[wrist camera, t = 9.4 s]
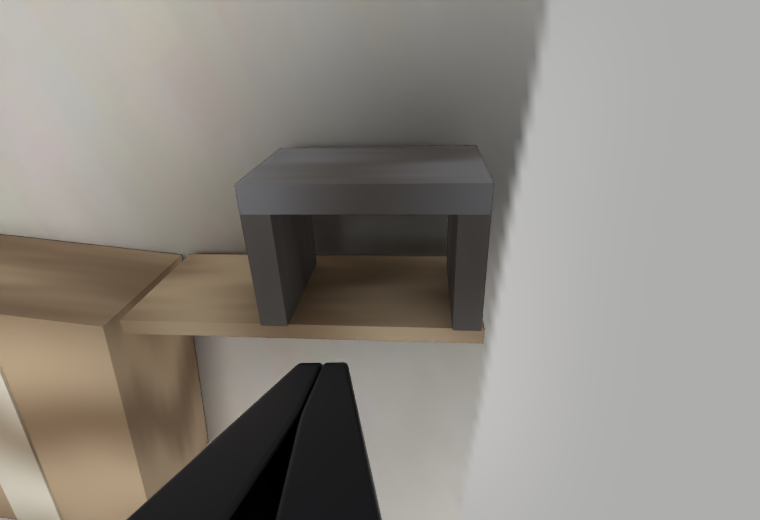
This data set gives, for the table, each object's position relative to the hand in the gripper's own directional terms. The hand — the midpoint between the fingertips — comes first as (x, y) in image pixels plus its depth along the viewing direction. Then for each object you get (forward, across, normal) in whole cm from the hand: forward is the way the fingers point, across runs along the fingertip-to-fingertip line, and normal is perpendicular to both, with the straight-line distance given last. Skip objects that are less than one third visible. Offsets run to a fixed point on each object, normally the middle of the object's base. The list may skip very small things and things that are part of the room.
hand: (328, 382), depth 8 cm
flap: (+9, +2, 0) cm, 10 cm away
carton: (+10, +14, +6) cm, 18 cm away
